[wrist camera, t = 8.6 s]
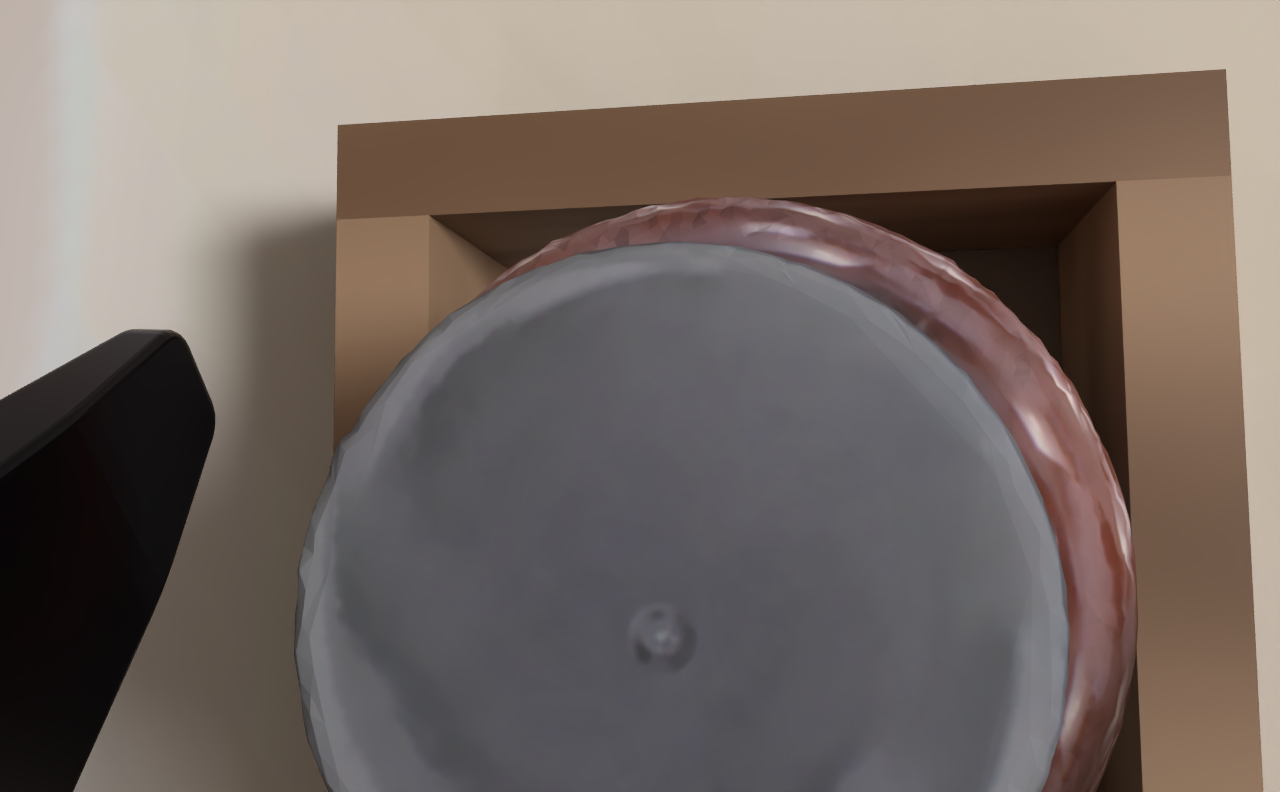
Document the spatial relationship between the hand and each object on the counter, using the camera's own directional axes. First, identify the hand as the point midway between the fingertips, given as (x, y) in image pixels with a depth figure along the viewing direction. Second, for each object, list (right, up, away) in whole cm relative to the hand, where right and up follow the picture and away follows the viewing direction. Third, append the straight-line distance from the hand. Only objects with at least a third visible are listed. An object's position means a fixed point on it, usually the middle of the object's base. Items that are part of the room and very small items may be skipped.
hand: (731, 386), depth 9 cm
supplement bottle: (+1, -2, +8) cm, 8 cm away
